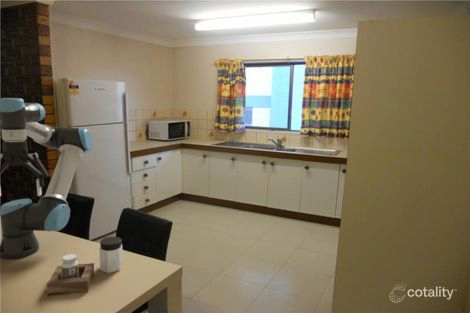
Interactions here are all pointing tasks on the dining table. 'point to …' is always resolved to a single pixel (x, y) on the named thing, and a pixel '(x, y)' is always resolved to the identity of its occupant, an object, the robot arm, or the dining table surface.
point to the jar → (110, 254)
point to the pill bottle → (70, 267)
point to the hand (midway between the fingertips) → (19, 196)
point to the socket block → (71, 281)
